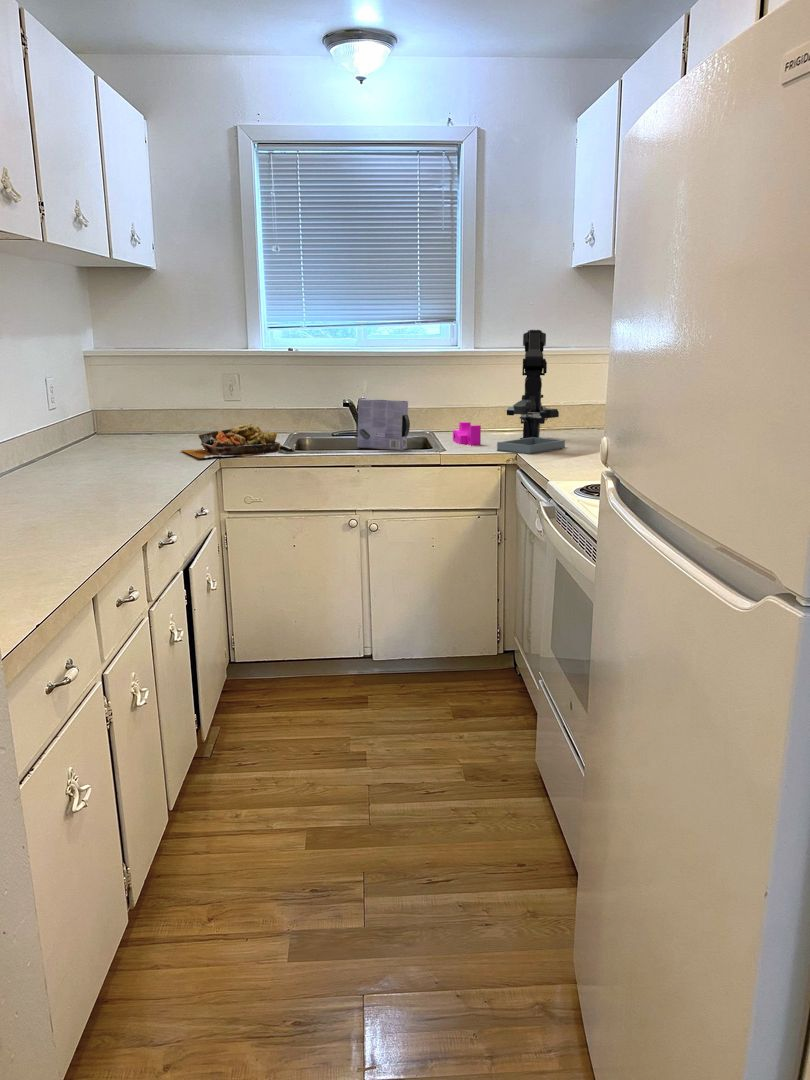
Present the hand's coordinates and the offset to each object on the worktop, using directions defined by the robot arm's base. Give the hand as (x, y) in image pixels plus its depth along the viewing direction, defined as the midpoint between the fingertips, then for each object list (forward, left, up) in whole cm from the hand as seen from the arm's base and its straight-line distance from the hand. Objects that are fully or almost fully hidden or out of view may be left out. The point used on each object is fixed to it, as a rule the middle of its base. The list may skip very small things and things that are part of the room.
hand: (531, 436), depth 283 cm
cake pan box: (+33, -41, -5) cm, 53 cm away
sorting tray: (0, 0, -4) cm, 4 cm away
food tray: (+73, -74, -6) cm, 104 cm away
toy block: (+1, -29, -5) cm, 30 cm away
